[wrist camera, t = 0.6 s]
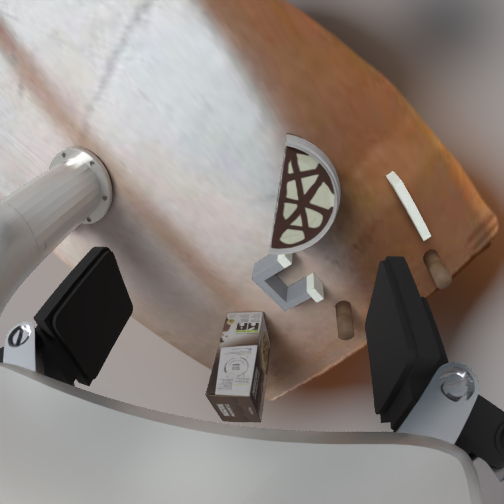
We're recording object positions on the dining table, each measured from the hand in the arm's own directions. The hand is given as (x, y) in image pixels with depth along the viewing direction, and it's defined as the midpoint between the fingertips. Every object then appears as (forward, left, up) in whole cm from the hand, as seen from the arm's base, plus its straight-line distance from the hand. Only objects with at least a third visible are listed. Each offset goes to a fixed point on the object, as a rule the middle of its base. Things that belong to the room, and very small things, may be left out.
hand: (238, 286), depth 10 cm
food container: (-1, -6, -28) cm, 29 cm away
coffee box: (-25, -23, -28) cm, 44 cm away
